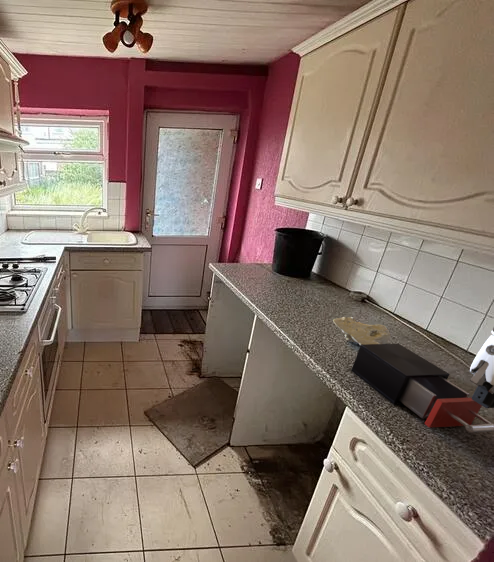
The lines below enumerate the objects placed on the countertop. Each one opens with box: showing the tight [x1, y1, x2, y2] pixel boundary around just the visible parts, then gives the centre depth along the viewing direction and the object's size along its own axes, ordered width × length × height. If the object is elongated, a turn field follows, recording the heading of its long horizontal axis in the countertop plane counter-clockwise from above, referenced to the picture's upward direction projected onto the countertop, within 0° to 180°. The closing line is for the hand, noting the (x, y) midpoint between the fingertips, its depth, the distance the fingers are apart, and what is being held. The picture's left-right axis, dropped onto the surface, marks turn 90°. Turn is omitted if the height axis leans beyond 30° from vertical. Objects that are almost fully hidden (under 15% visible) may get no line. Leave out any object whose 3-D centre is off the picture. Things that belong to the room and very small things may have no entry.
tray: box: [398, 377, 494, 434], centre depth 78 cm, size 19×11×8 cm, turn 5°
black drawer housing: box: [351, 343, 450, 406], centre depth 89 cm, size 15×13×10 cm
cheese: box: [332, 316, 391, 346], centre depth 110 cm, size 15×7×15 cm
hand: (482, 403), depth 70 cm, fingers closed
